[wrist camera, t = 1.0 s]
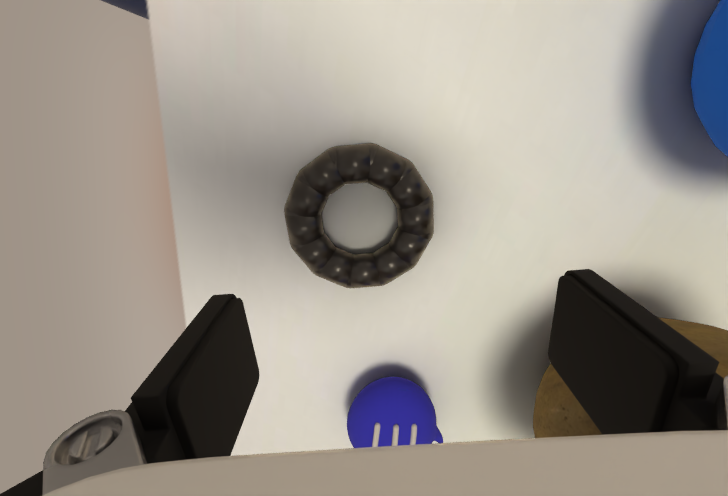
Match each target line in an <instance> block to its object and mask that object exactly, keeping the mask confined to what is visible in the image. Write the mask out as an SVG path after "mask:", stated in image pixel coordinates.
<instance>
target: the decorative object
mask: <svg viewBox="0 0 728 496" xmlns="http://www.w3.org/2000/svg"><path fill="white" fill-rule="evenodd" d="M347 430H348V435H349V439H350V441H351V443H352V445H353V447H354V448H365V447H382V446H400V445H417V444H432V442H433V441H437V442H438V443H443V437H442V435H441V433H440V431H439V429H438V428H437V426H436V414H435V409H434V406H433V404H432V402H431V400H430V398H429V396H428V395H427V394H426V392H425V391H424V390H423V389H422V388H421V387H420V386H419V385H417V384H416V383H414V382H412V381H410V380H408V379H405V378H401V377H385V378H381V379H378V380H376V381H373V382H372V383H370V384H368V385H367V386H366V387H364V388H363V389H362V390H361V391H360V392H359V394H358V395H357V396H356V398H355V399H354V401H353V403H352V405H351V407H350V410H349V413H348V418H347Z"/></svg>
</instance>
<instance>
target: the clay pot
mask: <svg viewBox="0 0 728 496" xmlns="http://www.w3.org/2000/svg"><path fill="white" fill-rule="evenodd" d="M659 319H660V320H662V321H663V322H665V323H666V324H667V325H669V326H670V327H672V328H673V329H674V330H676V331H677V332H679V333H680V334H681V335H683V336H684V337H686V338H687V339H688V340H690V341H691V342H692V343H694V344H695V345H697V346H698V347H699V348H701V349H702V350H704V351H705V352H706V353H708V354H709V355H711V356H712V357H713V358H715V359H716V360H718V361H719V364H718V367H717V370H716V373H717V374H719V375H720V376H721V377H723V378H725V377H726V376H727V375H728V331H727V330H724V329H721V328H717V327H714V326H709V325H704V324H699V323H694V322H688V321H682V320H676V319H667V318H659ZM533 428H534V434H535V438H548V437H568V436H588V435H602V433H601V432H600V431H599V429H598V428H597V426H596V425H595V424H594V422H593V421H592V420H591V418H590V417H589V415H588V414H587V413H586V411H585V410H584V409H583V407H582V406H581V404H580V403H579V402H578V400H577V399H576V398H575V396H574V395H573V393H572V392H571V391H570V389H569V388H568V387H567V385H566V384H565V382H564V381H563V380H562V378H561V377H560V376H559V374H558V373H557V371H556V370H555V369H554V367H553V366H552V364H550V365H549V367H548V368H547V370H546V372H545V373H544V375H543V378H542V380H541V383H540V385H539V388H538V390H537V394H536V401H535V407H534V415H533Z"/></svg>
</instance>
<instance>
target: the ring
mask: <svg viewBox="0 0 728 496" xmlns="http://www.w3.org/2000/svg"><path fill="white" fill-rule="evenodd" d="M364 182H367V183H369V184H372V185H374V186H376V187H378V188H380V189H382V190H385V191H386V192H387V193H388V195H389V196H390V198H391V199H392V201H393V202H394V204H395V205H396V206H397V215H398V227H397V229H396V231H395V233H394V235H393V237H392V238H391V240H390V242H389V243H388V244H386V245H385V246H383V247H382V248H380V249H378V250H377V251H375V252H374V253H366V254H354V255H353V254H351V253H349V252H346V251H344V250H342V249H339V248H337V247H335V246H334V244H333V243H332V242H331V241H330V239H329V238H328V237H327V236H326V234H325V233H324V231H323V223H322V216H321V213H322V210H323V208H324V206H325V204H326V201H327V199H328V197H329V196H330V195H331V194H332V193H334V192H335V191H337V190H338V189H339V188H341V187H342V186H344V185H345V184H353V183H364ZM284 212H285V219H286V224H287V230H288V235H289V241H290V245H291V247H292V249H293V250H294V251H295V252H296V254H297V255H298V256H299V257H300V258H301V259H302V261H303V262H304V263H305V264H306V265H307V267H308V268H309V269H310V270H311V271H312V272H313V273H314V274H315V275H317V276H319V277H321V278H324V279H326V280H329V281H331V282H333V283H336V284H338V285H341V286H343V287H346V288H360V287H373V286H382V285H385V284H387V283H389V282H391V281H392V280H394V279H396V278H397V277H399V276H400V275H402V274H404V273H405V272H407V271H409V270H410V269H412V268H413V267H414V266H415V265H416V264H417V262H418V261H419V259H420V257H421V255H422V254H423V252H424V250H425V248H426V247H427V245H428V243H429V241H430V240H431V238H432V236H433V232H434V219H433V196H432V193H431V191H430V190H429V188H428V186H427V185H426V183H425V182H424V180H423V179H422V177H421V175H420V174H419V172H418V171H417V169H416V168H415V166H414V165H413V163H412V162H411V161H409V160H408V159H406V158H404V157H402V156H400V155H398V154H396V153H393V152H391V151H389V150H387V149H385V148H383V147H381V146H379V145H377V144H373V143H367V144H356V145H345V146H336V147H332V148H329V149H328V150H326V151H325V152H324V153H322V154H321V155H320V156H318V157H317V158H316V159H314V160H313V161H312V162H310V163H309V164H308V165H306V166H305V167H304V168H302V169H301V170H300V171H299V172H298V174H297V176H296V179H295V181H294V184H293V186H292V189H291V191H290V194H289V196H288V199H287V202H286V204H285V209H284Z"/></svg>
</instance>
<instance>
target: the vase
mask: <svg viewBox="0 0 728 496" xmlns="http://www.w3.org/2000/svg"><path fill="white" fill-rule="evenodd" d="M691 89H692V96H693V103H694V108H695V110H696V112H697V114H698V116H699V118H700V120H701V122H702V124H703V126H704V128H705V130H706V132H707V133H708V135H709V136H710V138H711V140H712V141H713V143H714V145H715V146H716V147H717V148H718V149H719V150H720V151H721V152H723V153H724V154H725V155H726V156H727V157H728V0H720V2H719V3H718V5H717V7H716V8H715V10H714V12H713V14H712V15H711V17H710V19H709V20H708V22H707V24H706V25H705V28H704V30H703V33H702V36H701V39H700V42H699V44H698V47H697V50H696V53H695V55H694V63H693V70H692V78H691Z"/></svg>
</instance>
